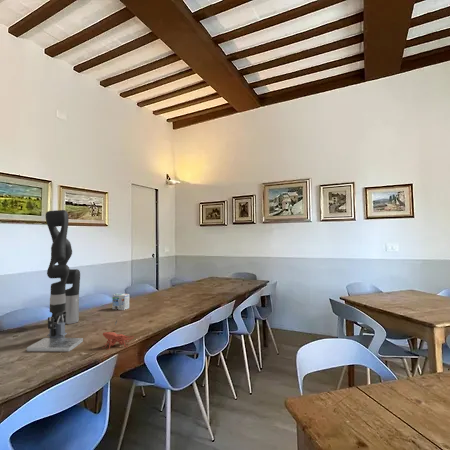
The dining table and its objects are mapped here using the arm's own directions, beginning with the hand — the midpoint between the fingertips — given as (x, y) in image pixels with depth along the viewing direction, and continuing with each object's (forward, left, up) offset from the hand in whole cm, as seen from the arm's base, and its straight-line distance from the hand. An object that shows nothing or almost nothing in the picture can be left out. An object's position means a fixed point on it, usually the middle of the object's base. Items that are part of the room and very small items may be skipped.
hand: (57, 334), depth 166 cm
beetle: (+10, +36, -3) cm, 38 cm away
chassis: (+12, +6, -2) cm, 14 cm away
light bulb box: (-70, +10, -3) cm, 71 cm away
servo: (0, 0, -2) cm, 2 cm away
